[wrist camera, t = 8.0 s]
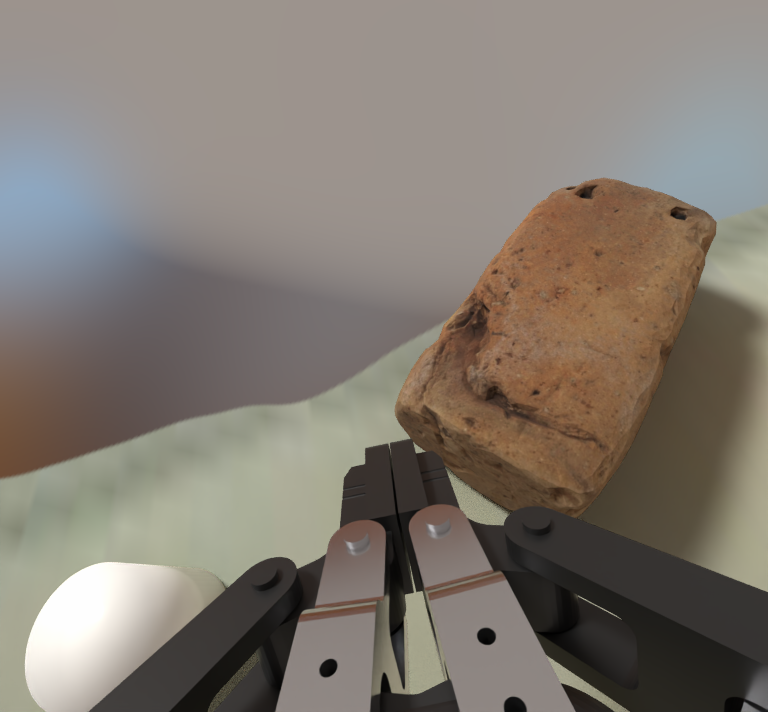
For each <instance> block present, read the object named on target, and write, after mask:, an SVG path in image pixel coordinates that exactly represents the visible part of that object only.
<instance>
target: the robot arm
mask: <svg viewBox="0 0 768 712" xmlns="http://www.w3.org/2000/svg"><path fill="white" fill-rule="evenodd" d="M390 449H391V453H390ZM390 449H389V445H388V444H383V445H378V446H373V447H369V448H365V464H364V465H360V466H355V467H351V469H350V470H349V472H348V473H347V474H346V476H345V477H344V486H343V490H344V491H343V500H342V509H341V521H340V529H339V530H337V531H336V532H335V533H334V535H333V536H332V537H331V539H330V541H329V544H328V549H327V553H326V554H325V555H324V556H323V557H321V558H319V559H318V560H316V561H314V562H312V563H310V564H307V565H305V566H303V567H301V568H299V569H297V568H296V565H295V563H294V562H293V561H292V560H290V559H288V558H284V557H275V558H270V559H266V560H264V561H261V562H259V563H258V564H256V565H254V566H253V567H251V568H250V569H249V570H247V571H246V572H245V573H244V574H243V575H242V576H241V577H239V578H238V579H237V580H236V581H235V582H234V583H233V584H232V585H230V586H229V587H228V588H227V589H226V590H225V591H224V592H223V593H221V594H220V595H219V596H218V597H217V598H216V599H215V600H214V601H212V602H211V603H210V604H209V605H208V606H207V607H206V608H205V609H203V610H202V611H201V612H200V613H199V614H198V615H197V616H196V617H194V618H193V619H192V620H191V621H190V622H189V623H188V624H187V625H185V626H184V627H183V628H182V629H181V630H180V631H179V632H178V633H176V634H175V635H174V636H173V637H172V638H171V639H170V640H169V641H167V642H166V643H165V644H164V645H163V646H162V647H161V648H160V649H158V650H157V651H156V652H155V653H154V654H153V655H152V656H150V657H149V658H148V659H147V660H146V661H145V662H144V663H143V664H141V665H140V666H139V667H138V668H137V669H136V670H135V671H134V672H132V673H131V674H130V675H129V676H128V677H127V678H126V679H125V680H123V681H122V682H121V683H120V684H119V685H118V686H117V687H116V688H114V689H113V690H112V691H111V692H110V693H109V694H108V695H107V696H105V697H104V698H103V699H102V700H101V701H100V702H99V703H98V704H96V705H95V706H94V707H93V708H92V709H91V710H90V711H89V712H207V711H208V708H209V706H210V703H211V702H212V700H213V698H214V697H215V695H216V694H217V693H218V692H219V691H220V689H221V688H222V687H223V686H224V685H225V684H226V683H227V682H228V681H229V680H230V679H231V678H232V676H233V675H234V674H235V673H236V672H237V671H238V670H239V669H240V668H241V667H242V666H243V664H244V663H245V662H246V661H247V660H248V659H249V658H250V657H251V656H252V655H253V654H254V653H255V652H256V655H257V658H258V660H259V661H258V663H257V664H256V665H255V666H254V667H253V668H252V669H251V670H250V672H249V673H248V674H247V675H246V676H245V677H244V678H243V679H242V680H241V682H240V683H239V684H238V685H237V686H236V687H235V688H234V689H233V690H232V692H231V693H230V694H229V695H228V696H227V697H226V698H225V699H224V701H223V702H222V703H221V704H220V705H219V706H218V707H217V708H216V709H215V711H214V712H614V711H613V710H611V709H610V708H609V707H607V706H606V705H604V704H603V703H601V702H600V701H598V700H597V699H595V698H593V697H591V696H590V695H588V694H586V693H584V692H582V691H580V690H578V689H575V688H573V687H571V686H568V685H565V684H562V683H560V681H559V679H558V677H557V675H556V673H555V671H554V670H553V668H552V666H551V664H550V662H549V660H548V658H547V656H548V657H550V658H551V659H553V660H554V661H556V662H557V663H559V664H560V665H562V666H563V667H565V668H566V669H568V670H569V671H571V672H572V673H574V674H575V675H577V676H578V677H580V678H581V679H583V680H584V681H586V682H587V683H589V684H590V685H591V686H593V687H594V688H596V689H597V690H599V691H600V692H602V693H603V694H605V695H606V696H608V697H609V698H611V699H612V700H614V701H615V702H617V703H618V704H620V705H621V706H623V707H624V708H626V709H627V710H629V711H630V712H768V592H766V591H763V590H760V589H758V588H755V587H753V586H750V585H747V584H745V583H742V582H740V581H737V580H734V579H732V578H729V577H727V576H724V575H721V574H719V573H716V572H714V571H711V570H708V569H706V568H703V567H701V566H698V565H696V564H693V563H690V562H688V561H685V560H683V559H680V558H677V557H675V556H672V555H670V554H667V553H664V552H662V551H659V550H657V549H654V548H651V547H649V546H646V545H644V544H641V543H638V542H636V541H633V540H631V539H628V538H625V537H623V536H620V535H618V534H615V533H612V532H610V531H607V530H605V529H602V528H600V527H597V526H594V525H592V524H589V523H587V522H584V521H581V520H579V519H576V518H574V517H571V516H568V515H566V514H563V513H561V512H558V511H555V510H553V509H550V508H546V507H540V506H530V507H524V508H520V509H517V510H515V511H514V512H512V513H511V514H509V516H508V517H507V518H506V520H505V522H504V526H501V525H485V524H480V523H477V522H474V521H472V520H470V519H469V518H467V517H466V515H465V514H464V512H463V511H462V510H460V507H459V505H458V502H457V499H456V496H455V493H454V491H453V488H452V485H451V482H450V479H449V477H448V474H447V471H446V468H445V465H444V462H443V460H442V457H440V456H439V455H438V454H436V453H435V452H434V451H427V452H422V453H417V454H416V452H415V448H414V444H413V440H412V439H407V440H402V441H397V442H392V443H390ZM391 457H392V458H391ZM410 566H411V569H410ZM411 570H412V575H413V579H414V584H415V588H416V592H419V591H423V595H424V599H425V603H426V608H427V613H428V617H429V622H430V626H431V630H432V633H433V637H434V641H435V645H436V649H437V653H438V657H439V660H440V664H441V668H442V672H443V676H444V680H445V681H444V682H442V683H440V684H438V685H436V686H434V687H432V688H430V689H428V690H426V691H424V692H422V693H420V694H415V695H411V694H410V692H409V657H408V625H407V619H406V615H405V613H406V602H405V594H410V593H414V591H413V584H412V577H411ZM578 595H579V596H581V597H582V598H584V599H586V600H588V601H590V602H592V603H594V604H596V605H598V606H600V607H602V608H603V609H605V610H607V611H609V612H611V613H613V614H615V615H616V616H618V617H619V618H621V619H622V620H621V619H619V618H617V617H615V616H614V615H612V614H610V613H608V612H606V611H604V610H602V609H600V608H598V607H597V606H595V605H593V604H591V603H589V602H587V601H585V600H583V599H581V598H579V597H578ZM546 655H547V656H546Z"/></svg>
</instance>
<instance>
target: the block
mask: <svg viewBox="0 0 768 712" xmlns="http://www.w3.org/2000/svg"><path fill="white" fill-rule="evenodd" d="M715 235H716V221H715V220H714V219H713V218H712V216H710V215H709V214H708V213H707V212H705V211H703V210H701V209H699V208H696V207H694V206H691V205H689V204H687V203H684V202H682V201H681V200H678V199H676V198H674V197H672V196H669V195H667V194H664V193H661V192H657V191H653V190H651V189H649V188H644V187H638V186H634V185H630V184H627V183H625V182H622V181H619V180H614V179H608V178H600V179H595V180H590V181H585V182H583V183H581V184H580V185H578V186H570V187H565V188H561V189H559V190H557V191H555V192H552V193H551V194H550V196H549V197H548V198H547V199H546V200H543V201H541V202H540V203H539V204H537V205H536V206H535V207H534V208H533V210H532V211H531V212H530V213H529V214H528V216H527V217H526V218H525V219H524V220H523V222H522V223H521V224H520V225H519V227H518V228H517V229H516V230H515V231H514V232H513V233H512V235H511V236H510V237H509V238H508V240H507V241H506V242H505V244H504V246H503V248H502V250H501V252H500V253H499V254H497V255H496V256H495V257H494V258H493V260H492V261H491V262H490V264H489V265H488V267H487V268H486V270H485V271H484V273H483V274H482V276H481V277H480V279H479V281H478V283H477V285H476V286H475V288H474V289H473V291H472V292H471V294H470V295H469V296H468V297H467V298H466V300H465V301H464V302H463V303H462V305H461V306H460V307H459V308H458V310H457V311H456V312H455V313H454V314H453V315H452V316H451V318H450V319H449V320H448V321H447V322H446V323H445V324H444V326H443V329H442V332H441V334H440V337H439V339H438V340H437V341H436V342H435V343H434V344H433V345H432V346H431V347H429V348H427V349H426V350H425V351H424V352H423V353H422V355H421V356H420V357H419V359H418V360H417V362H416V364H415V365H414V367H413V368H412V370H411V371H410V373H409V375H408V377H407V379H406V381H405V383H404V385H403V387H402V389H401V391H400V393H399V396H398V399H397V402H396V405H395V415H396V418H397V420H398V422H399V424H400V425H401V426H402V427H403V429H404V430H405V431H406V432H407V434H408V435H409V436H410V438H411V439H412V440H413V442H414V443H415V444H416V445H418V446H419V447H420V448H422V449H423V450H425V451H426V452H427V451H434V452H435V453H436V454H438V455H439V456H440V457H442V460H443V462H444V465H445V466H447V467H449V468H450V469H451V470H452V471H453V472H454V474H455V475H456V476H457V477H459V478H460V479H461V480H463V481H464V482H465V483H467V484H468V485H470V486H471V487H472V488H474V489H475V490H477V491H478V492H480V493H481V494H483V495H485V496H486V497H488V498H490V499H491V500H493V501H494V502H496V503H497V504H499V505H501V506H503V507H505V508H507V509H508V510H513V511H515V510H517V509H520V508H524V507H530V506H540V507H546V508H550V509H553V510H555V511H558V512H561V513H563V514H566V515H568V516H571V517H574V518H577V517H578V516H580V515H581V514H582V513H583V512H584V511H585V510H586V509H587V508H588V507H589V506H590V505H591V503H592V502H593V501H594V500H595V499H596V498H597V497H598V495H599V494H600V493H601V491H602V490H603V488H604V487H605V486H606V484H607V483H608V481H609V480H610V479H611V477H612V476H613V475H614V473H615V472H616V470H617V469H618V468H619V466H620V464H621V463H622V461H623V459H624V457H625V456H626V454H627V452H628V450H629V449H630V447H631V445H632V443H633V441H634V439H635V437H636V435H637V433H638V430H639V428H640V426H641V424H642V422H643V419H644V417H645V415H646V413H647V410H648V408H649V406H650V403H651V401H652V398H653V395H654V394H655V392H656V390H657V387H658V385H659V383H660V380H661V378H662V376H663V369H664V366H665V364H666V362H667V359H668V356H669V354H670V352H671V350H672V348H673V345H674V343H675V341H676V339H677V336H678V334H679V332H680V330H681V327H682V325H683V323H684V320H685V318H686V315H687V312H688V309H689V307H690V305H691V302H692V300H693V297H694V295H695V292H696V289H697V286H698V283H699V280H700V277H701V274H702V271H703V268H704V266H705V257H706V254H707V252H708V250H709V247H710V245H711V243H712V241H713V239H714V237H715Z"/></svg>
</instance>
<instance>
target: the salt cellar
mask: <svg viewBox="0 0 768 712" xmlns="http://www.w3.org/2000/svg"><path fill="white" fill-rule="evenodd" d="M225 590H226V589H225V587H224V585H223V584H222V582H221V581H220V580H219V579H218V577H216V576H215V575H214V574H213V573H211V572H209V571H207V570H204V569H199V568H187V567H173V566H159V565H144V564H130V563H116V562H105V563H99V564H95V565H92V566H89V567H87V568H84V569H83V570H81V571H79V572H77V573H76V574H74V575H73V576H71V577H70V578H69V579H67V580H66V581H65V582H64V583H63V584H62V585H61V586H60V587H59V588H58V589H57V590H56V591H55V592H54V593H53V594H52V595H51V597H50V598H49V599H48V601H47V602H46V604H45V605H44V606H43V608H42V610H41V611H40V613H39V615H38V617H37V619H36V621H35V623H34V625H33V628H32V631H31V634H30V636H29V640H28V644H27V649H26V656H25V675H26V681H27V685H28V688H29V691H30V693H31V695H32V697H33V699H34V700H35V701H36V703H37V704H38V705H39V706H40V707H41V708H42V709H44V710H45V711H46V712H89V711H90V710H91V709H92V708H93V707H94V706H95V705H96V704H98V703H99V702H100V701H101V700H102V699H103V698H104V697H105V696H107V695H108V694H109V693H110V692H111V691H112V690H113V689H114V688H116V687H117V686H118V685H119V684H120V683H121V682H122V681H123V680H125V679H126V678H127V677H128V676H129V675H130V674H131V673H132V672H134V671H135V670H136V669H137V668H138V667H139V666H140V665H141V664H143V663H144V662H145V661H146V660H147V659H148V658H149V657H150V656H152V655H153V654H154V653H155V652H156V651H157V650H158V649H160V648H161V647H162V646H163V645H164V644H165V643H166V642H167V641H169V640H170V639H171V638H172V637H173V636H174V635H175V634H176V633H178V632H179V631H180V630H181V629H182V628H183V627H184V626H185V625H187V624H188V623H189V622H190V621H191V620H192V619H193V618H194V617H196V616H197V615H198V614H199V613H200V612H201V611H202V610H203V609H205V608H206V607H207V606H208V605H209V604H210V603H211V602H212V601H214V600H215V599H216V598H217V597H218V596H219V595H220V594H221V593H223V592H224V591H225Z"/></svg>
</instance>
